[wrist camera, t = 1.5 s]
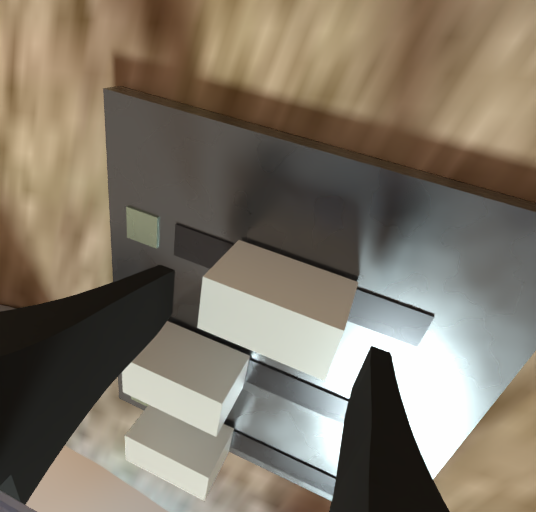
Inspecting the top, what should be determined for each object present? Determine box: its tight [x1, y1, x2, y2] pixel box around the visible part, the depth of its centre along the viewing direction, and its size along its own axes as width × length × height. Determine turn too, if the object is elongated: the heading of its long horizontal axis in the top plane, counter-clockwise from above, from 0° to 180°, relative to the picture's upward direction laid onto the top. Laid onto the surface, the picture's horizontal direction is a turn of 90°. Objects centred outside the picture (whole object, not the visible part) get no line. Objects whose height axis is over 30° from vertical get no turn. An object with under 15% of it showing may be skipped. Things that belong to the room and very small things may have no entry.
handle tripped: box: [197, 240, 358, 381], centre depth 14 cm, size 5×2×3 cm, turn 79°
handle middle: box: [122, 321, 250, 437], centre depth 18 cm, size 5×2×3 cm, turn 79°
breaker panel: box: [103, 86, 536, 501], centre depth 18 cm, size 18×19×1 cm
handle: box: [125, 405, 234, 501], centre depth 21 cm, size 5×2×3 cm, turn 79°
